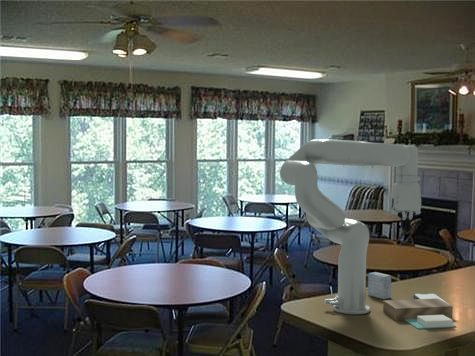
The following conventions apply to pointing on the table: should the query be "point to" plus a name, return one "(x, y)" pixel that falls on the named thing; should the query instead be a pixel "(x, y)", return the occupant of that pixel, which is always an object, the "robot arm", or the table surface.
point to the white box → (434, 321)
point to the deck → (416, 308)
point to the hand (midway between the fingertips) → (405, 230)
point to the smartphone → (428, 297)
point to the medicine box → (379, 285)
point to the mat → (419, 326)
